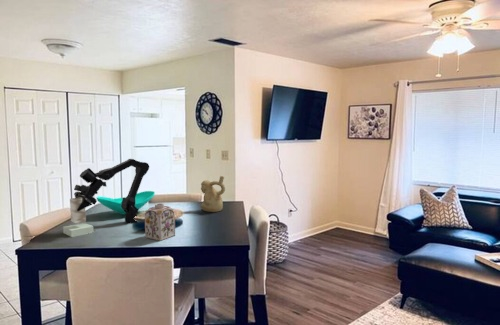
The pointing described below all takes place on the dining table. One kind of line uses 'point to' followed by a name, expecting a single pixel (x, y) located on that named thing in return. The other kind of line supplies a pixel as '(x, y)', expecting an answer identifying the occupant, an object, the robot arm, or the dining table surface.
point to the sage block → (78, 229)
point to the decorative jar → (159, 222)
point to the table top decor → (116, 203)
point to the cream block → (77, 215)
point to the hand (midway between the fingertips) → (74, 209)
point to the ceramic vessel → (212, 195)
